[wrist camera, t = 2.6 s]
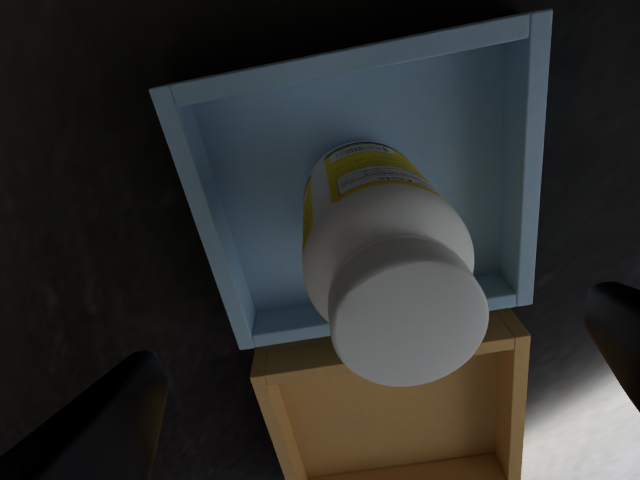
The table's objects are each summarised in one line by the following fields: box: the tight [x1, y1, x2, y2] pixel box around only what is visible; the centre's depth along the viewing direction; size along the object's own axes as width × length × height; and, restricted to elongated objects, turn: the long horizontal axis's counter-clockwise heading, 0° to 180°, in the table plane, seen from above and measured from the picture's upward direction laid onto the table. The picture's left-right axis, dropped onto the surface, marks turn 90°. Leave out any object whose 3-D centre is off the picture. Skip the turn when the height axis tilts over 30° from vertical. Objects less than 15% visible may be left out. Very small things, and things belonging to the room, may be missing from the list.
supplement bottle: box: [302, 140, 489, 387], centre depth 14 cm, size 5×5×10 cm
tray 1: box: [149, 9, 553, 350], centre depth 18 cm, size 15×13×2 cm
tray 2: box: [250, 308, 531, 480], centre depth 24 cm, size 15×13×2 cm
